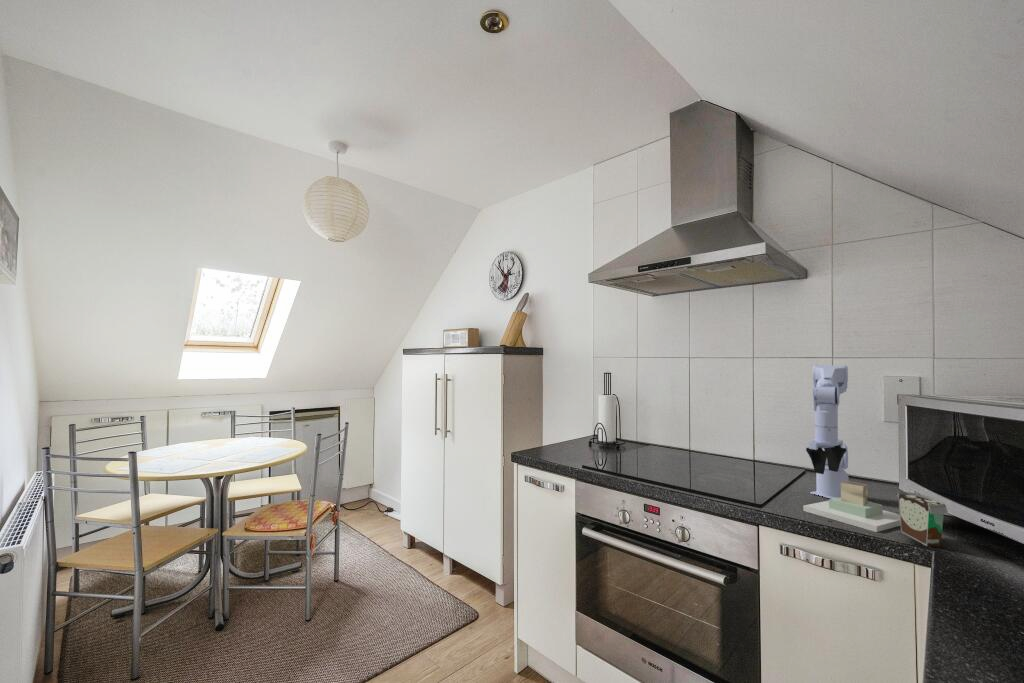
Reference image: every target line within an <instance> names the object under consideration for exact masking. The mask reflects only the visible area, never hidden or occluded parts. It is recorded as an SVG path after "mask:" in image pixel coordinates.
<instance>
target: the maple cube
mask: <svg viewBox="0 0 1024 683" xmlns="http://www.w3.org/2000/svg"><path fill="white" fill-rule="evenodd" d="M841 501H842V502H847V503H852V504H857V505H862V506H863V505H865V504H866V503H868V501H869V500H868V484H866V483H860V482H856V481H855V482H854V481H851V480H849V481H844V482H842V483H841Z"/></svg>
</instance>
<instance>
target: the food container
mask: <svg viewBox="0 0 1024 683" xmlns="http://www.w3.org/2000/svg"><path fill="white" fill-rule="evenodd" d="M896 499H897V500H898V509H899V514H900V524H901V526H900V532H901V533H902V534H904V535H906V536H908V537H909V538H911V539H913V540H915V541H917V542H919V544H920V543H921V544H922V545H924V546H926V547H931V546H935V547H940V546H941V545H942V537H943V536H942V535H943V524H944V514H947V513H948V508H947V506H946V504H945V502H944V500H941V499H939V498H936V497H934V496H929V495H926V494H925V495H924V494H920V493H917V492H916V493H914V492H910V491H909V492H906V491H901V490H900V491H899V490H898V491H897V495H896Z"/></svg>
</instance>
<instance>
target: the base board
mask: <svg viewBox="0 0 1024 683" xmlns="http://www.w3.org/2000/svg"><path fill="white" fill-rule="evenodd" d="M883 506H884V505H883V504H880V503H876V502H872V501H869V500H868V503H866V504H865V505H863V506H862V505H857V504H852V503H847V502H842V501H841V497H839V498H834V499H830V498H828V500H824V501H820V502H813V503H810V504H804V505H803V506H802V508H803V509H802V511H804V512H806V513H809V514H814V515H817V516H820V517H824V518H827V519H829V520H834V521H836V522H837V521H838V522H841V523H844V524H847V525H851V526H854V527H858V528H861V529H865V530H868V531H870V532H874V533H878V532H882V531H886V530H889V529H893V528H896V527H901V524H900V513H896V512H892V511H888V510H884V509H883V508H884V507H883Z"/></svg>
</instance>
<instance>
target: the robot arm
mask: <svg viewBox="0 0 1024 683" xmlns="http://www.w3.org/2000/svg"><path fill="white" fill-rule="evenodd" d="M848 370H849V369H848V366H847V365H845V364H844V365H830V364H827V365H824V364H820V365H819V364H813V366H812V381H813V388H812V396H811V397H812V404H813V411H814V438H811V439H810V441H809V442H808V447H805V452H806V453H807V454H808V457H809V458H810V462H811V464H812V466H813V470H814V473H815V474H816V475H815V476H816V478H815V479H816V484H815V485H816V490H814V491H810V494H811V495H814V494H815V495H814V496H818V495H819V496H820V497H822V496H823V498H827V499H834V498H839V497H841V483H842V482H844V481H850V480H849V478H850V477H849V474H848V473H847V471H846V470H847V469H848V468H849V451H848V446H847V444H846V443H845V442H844V441H843V439H839V431H838V430H839V426H838V424H839V423H838V422H839V421H838V420H839V418H838V417H839V415H838V414H839V412H838V411H839V406H840V396H841V394H844V393H846V392H847V389H848V382H849V380H848V379H849V372H848ZM819 496H818V497H819Z"/></svg>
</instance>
